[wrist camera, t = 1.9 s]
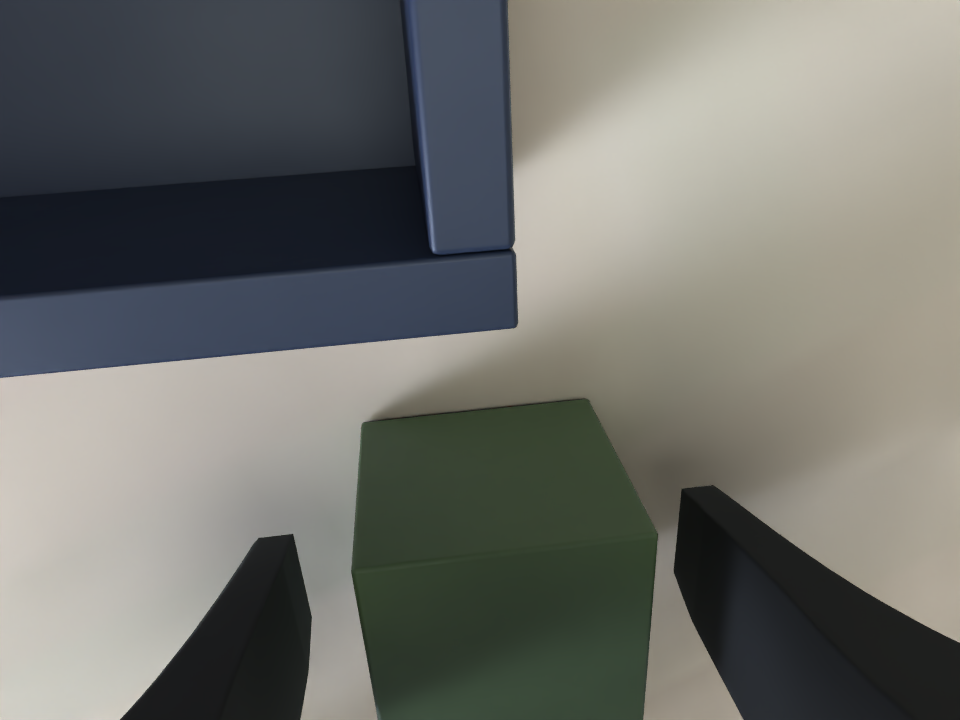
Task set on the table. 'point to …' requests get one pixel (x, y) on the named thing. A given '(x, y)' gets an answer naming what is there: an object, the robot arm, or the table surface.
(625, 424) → the table surface
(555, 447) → the block
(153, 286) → the dark blue open box
